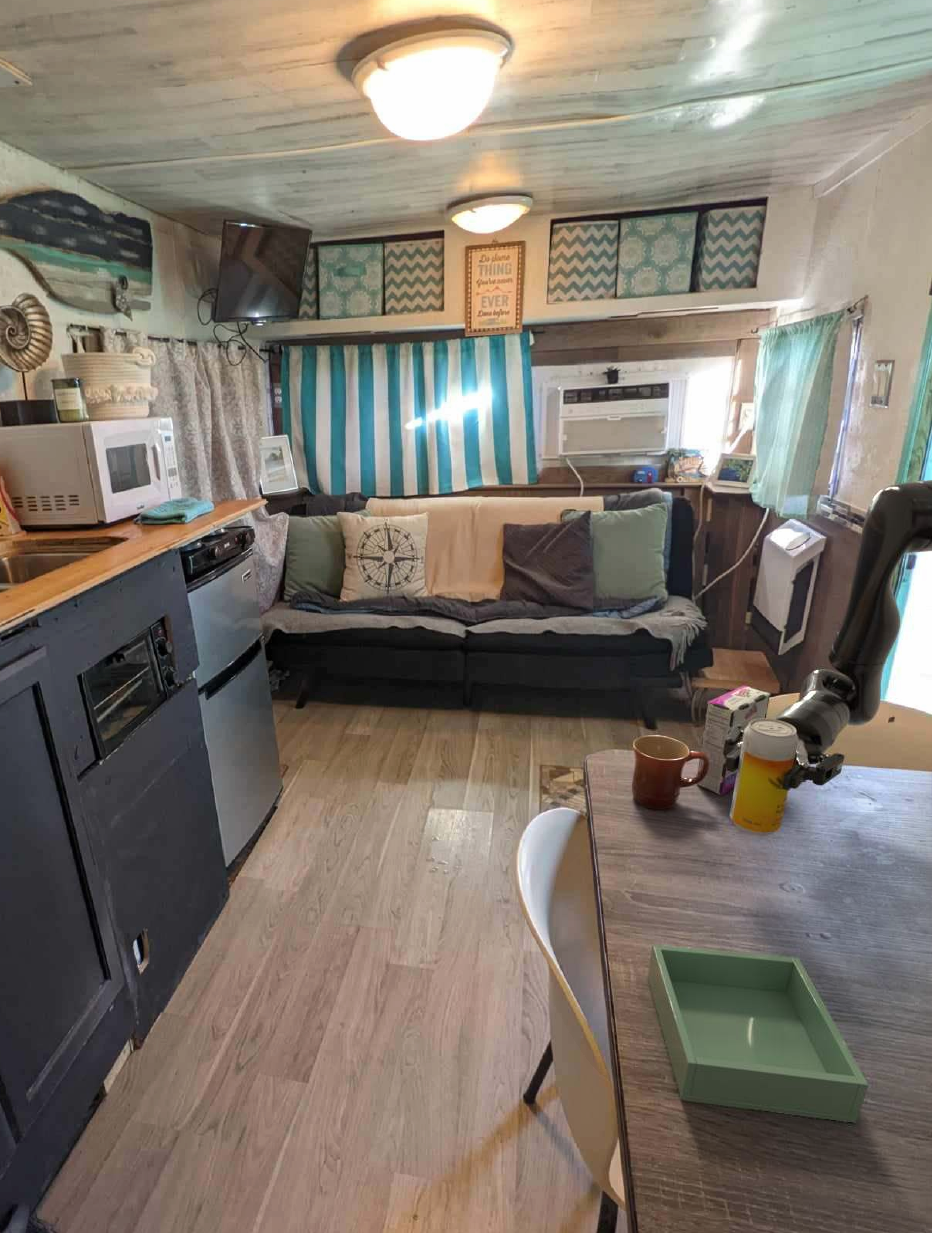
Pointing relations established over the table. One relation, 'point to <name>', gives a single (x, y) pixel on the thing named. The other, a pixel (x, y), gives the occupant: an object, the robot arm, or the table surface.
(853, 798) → the table surface
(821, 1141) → the table surface
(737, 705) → the candy bar box
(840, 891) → the table surface
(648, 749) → the mug
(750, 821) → the beer can
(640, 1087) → the table surface
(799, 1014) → the green serving tray
